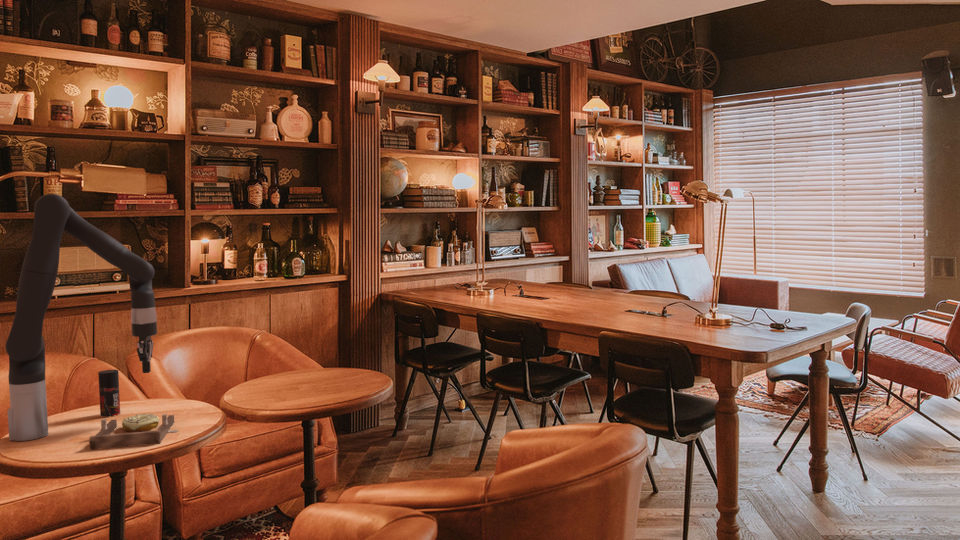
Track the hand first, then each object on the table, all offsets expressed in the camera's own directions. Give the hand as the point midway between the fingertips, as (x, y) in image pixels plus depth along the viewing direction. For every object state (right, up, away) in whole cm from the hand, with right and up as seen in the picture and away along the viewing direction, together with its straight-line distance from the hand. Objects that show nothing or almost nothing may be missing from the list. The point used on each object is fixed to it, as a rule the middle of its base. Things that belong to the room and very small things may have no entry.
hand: (146, 372), depth 219 cm
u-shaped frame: (+5, -17, -17) cm, 24 cm away
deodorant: (-16, -16, +7) cm, 23 cm away
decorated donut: (+3, -17, -9) cm, 19 cm away
